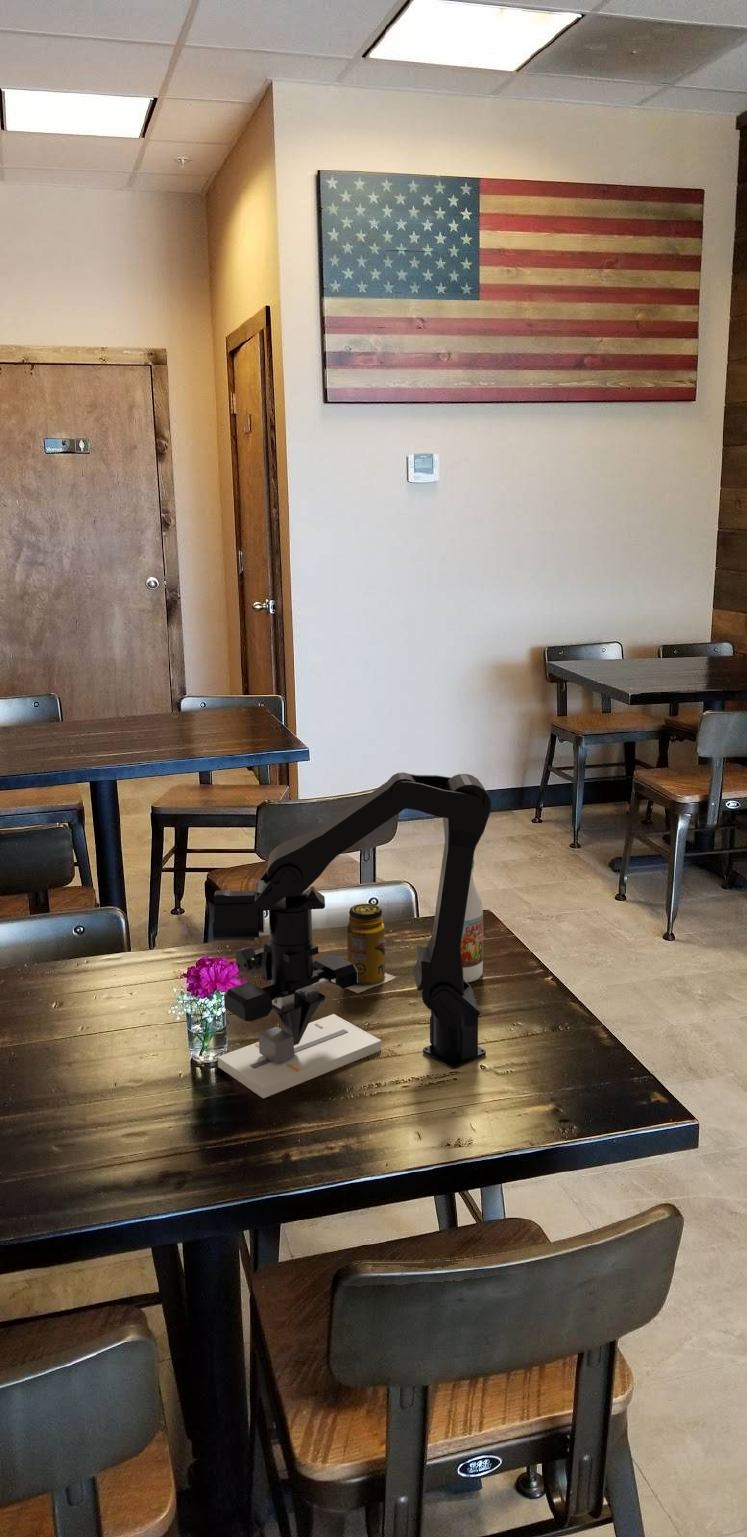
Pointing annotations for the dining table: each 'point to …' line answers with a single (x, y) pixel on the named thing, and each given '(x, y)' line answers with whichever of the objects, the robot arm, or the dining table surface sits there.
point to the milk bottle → (472, 935)
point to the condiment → (367, 946)
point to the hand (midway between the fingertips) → (294, 1043)
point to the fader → (276, 1045)
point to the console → (301, 1056)
